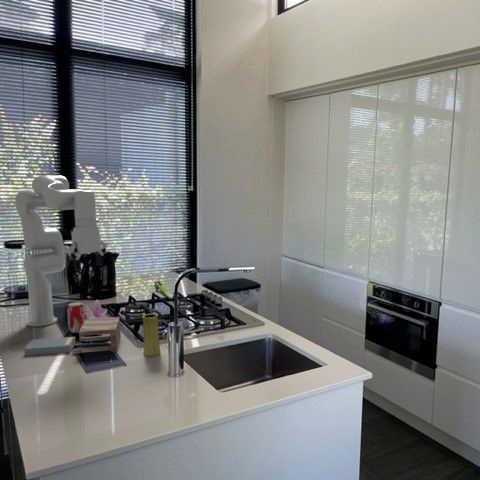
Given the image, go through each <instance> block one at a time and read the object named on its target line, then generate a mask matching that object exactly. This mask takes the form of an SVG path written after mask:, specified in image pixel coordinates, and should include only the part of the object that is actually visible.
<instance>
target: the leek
mask: <svg viewBox="0 0 480 480" xmlns="http://www.w3.org/2000/svg"><path fill="white" fill-rule="evenodd" d="M153 287H154V289H155V292H157V293H158V292H159V290H160V291H161V292H162V293H163V294H164V295H165V296H166V297H167V298H168V299H170V298H171V299H172V298H173V296H174V295H173V294H171V292H169V291H168V290H167V289H165V287H164V286H163V283H162V281H161V280H156V281H154V285H153ZM171 299H170V300H171ZM173 299H174V298H173ZM173 299H172V300H173Z"/></svg>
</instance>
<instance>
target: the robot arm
mask: <svg viewBox="0 0 480 480" xmlns="http://www.w3.org/2000/svg"><path fill="white" fill-rule="evenodd" d="M31 188H32V189H26V190H20V191H18V192H17V193H16V194H15V195H16V196H15V197H14V204H15V205H14V206H15V208H16V212H17V214H18V217H19V219H20V222H21V227H22V235H23V242H24V246H25V249H26V250H28V251H29V252H35V251H45V250H50V251H49V252H48V251H47V252H39V253H34V254H30V255H27V256H26V257H25V258H24V260H23V267H24V268H23V269H24V271H25V276H26V282H27V291H28V303H29V304H28V306H29V315H30V316H29V317H30V319H29V320H27V321H26V324H27V326H29V327H34V328H36V327H37V328H38V327H45V326H50V325H53V324H55V323H57V322H58V317H56V316H54V307H53V293H52V283H51V281H50V279H48V278H47V276H46V275H47V274H53V273H59V272H62V271H63V270H64V269H65V268H66V255H65V251H66V253H67V255H68V256H69V257H70V258H71V259H72V260H73V268H74V271H81V270H82V265H81V263H82V262H81V259H80V258H81V256H82V255H87V254H93V253H95V254H96V255H95V263H96V264H95V265H96V266H97V267H103V266H104V262H103V260H104V258H103V256H104V254H105V253H106V250H107V246H108V243H106V242H105V241H102V240H101V234H100V233H101V232H100V229H99V226H98V225H97V224H99V219H98V218H97V209H96V208H97V207H96V196H95V195H96V194H95V192H94V191H93V190H89V189H85V190H84V189H70V182H69V180H68V179H67V178H66V177H65V176H63V175H38V176H37V177H35V178H34V179H33V180H32V182H31ZM42 209H43V210H44V209H47V210H48V209H53V210H56V211H67V210H71V211H72V210H74V223H75V227H73V228H72V229H73V231H72V237H71V239H72V240H71V241H72V242H71V245H70V246H69V247H67V248H66V249H64V242H63V241H64V240H63V236H62V233H61V232H60V230H59V229H57V228H54V227H48V228H45V227H44V224H43V218H42V216H41V215H40V213H38V212H37V211H36V210H42Z"/></svg>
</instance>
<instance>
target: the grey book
mask: <svg viewBox="0 0 480 480" xmlns="http://www.w3.org/2000/svg"><path fill="white" fill-rule="evenodd" d="M75 345H76V336H67V337H55V338H40V339H39V338H37V339H32V340H31V341H30V342H29V343H28V344H27V345H26V347H25V348H24V356H37V355H38V356H39V354H40V355H49V354H64V353H72V351H73V350H74V349H73V348H74V347H75Z"/></svg>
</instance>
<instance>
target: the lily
mask: <svg viewBox="0 0 480 480" xmlns="http://www.w3.org/2000/svg"><path fill="white" fill-rule="evenodd" d="M85 306H86V308H87V309H88V311H89V312H88V314H86V315H85V319H94V318H109V317H108V316H107V315H106V314H107V312H108V309H107V308H102V306H101V303H100V300H99V299H96V300H95V302H94V304H93V306H92V305H90V304H86V305H85Z"/></svg>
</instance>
